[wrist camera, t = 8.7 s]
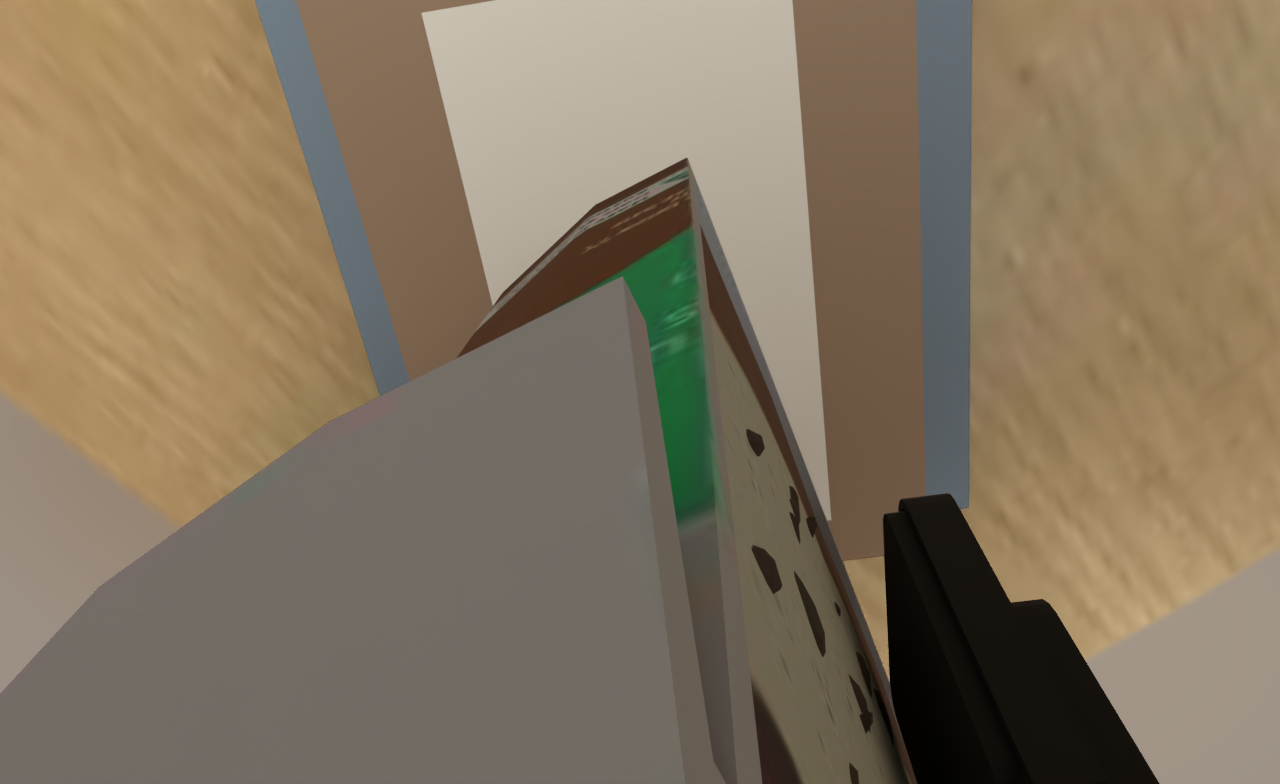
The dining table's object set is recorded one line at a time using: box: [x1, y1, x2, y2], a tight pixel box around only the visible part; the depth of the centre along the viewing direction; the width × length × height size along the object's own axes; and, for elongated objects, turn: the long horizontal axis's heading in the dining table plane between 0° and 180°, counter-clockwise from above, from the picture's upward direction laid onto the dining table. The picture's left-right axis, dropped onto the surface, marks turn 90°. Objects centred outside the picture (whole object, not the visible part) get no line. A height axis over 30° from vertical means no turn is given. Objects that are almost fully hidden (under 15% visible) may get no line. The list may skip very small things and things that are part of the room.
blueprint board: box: [255, 0, 972, 561], centre depth 22 cm, size 16×18×4 cm
